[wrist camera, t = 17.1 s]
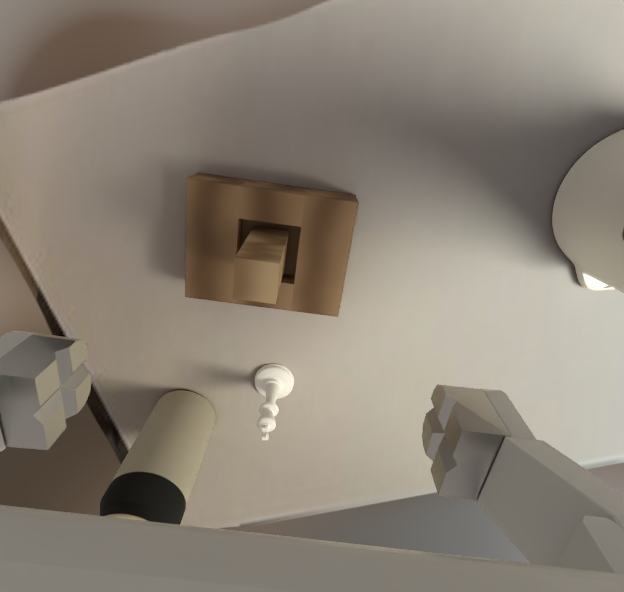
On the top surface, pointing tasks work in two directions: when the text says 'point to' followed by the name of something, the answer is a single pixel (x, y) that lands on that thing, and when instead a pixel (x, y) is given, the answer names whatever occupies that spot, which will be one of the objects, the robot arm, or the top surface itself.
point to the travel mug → (162, 461)
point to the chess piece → (272, 393)
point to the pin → (260, 265)
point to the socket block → (277, 215)
